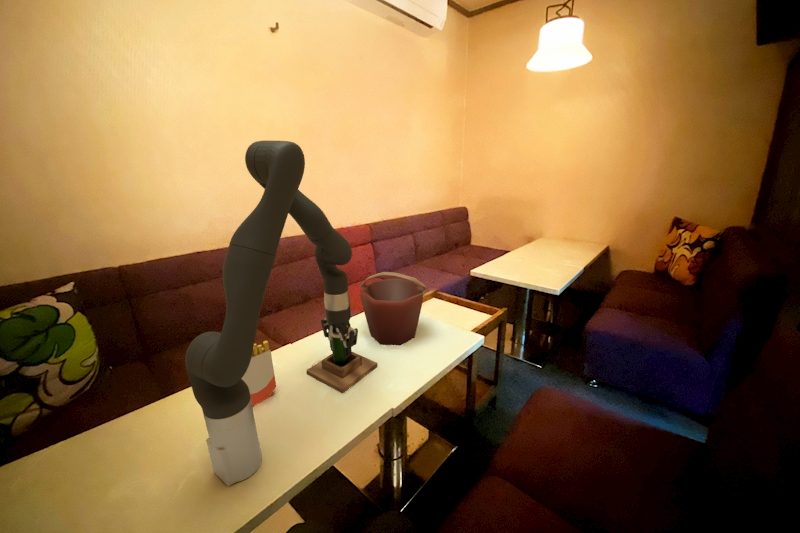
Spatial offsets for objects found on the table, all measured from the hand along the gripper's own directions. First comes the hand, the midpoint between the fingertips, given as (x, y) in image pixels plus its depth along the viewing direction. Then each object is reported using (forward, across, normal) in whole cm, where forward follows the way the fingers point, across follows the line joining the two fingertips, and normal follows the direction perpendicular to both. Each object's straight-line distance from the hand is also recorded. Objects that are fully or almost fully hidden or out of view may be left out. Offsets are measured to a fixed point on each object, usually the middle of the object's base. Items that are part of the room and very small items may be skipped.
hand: (341, 352), depth 111 cm
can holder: (+7, 0, 0) cm, 7 cm away
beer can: (+4, 0, 0) cm, 4 cm away
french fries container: (+7, -11, -24) cm, 27 cm away
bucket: (+7, 0, +27) cm, 28 cm away
